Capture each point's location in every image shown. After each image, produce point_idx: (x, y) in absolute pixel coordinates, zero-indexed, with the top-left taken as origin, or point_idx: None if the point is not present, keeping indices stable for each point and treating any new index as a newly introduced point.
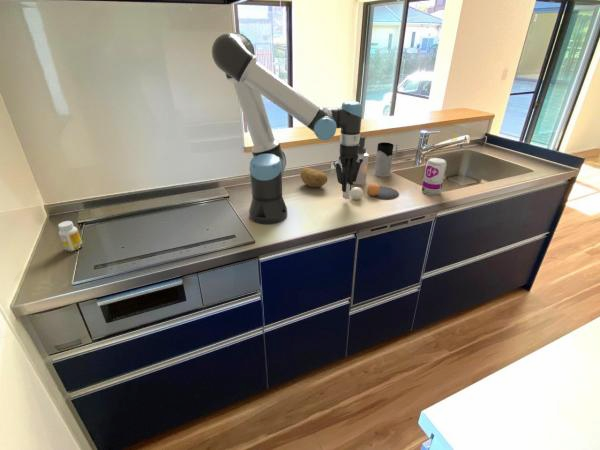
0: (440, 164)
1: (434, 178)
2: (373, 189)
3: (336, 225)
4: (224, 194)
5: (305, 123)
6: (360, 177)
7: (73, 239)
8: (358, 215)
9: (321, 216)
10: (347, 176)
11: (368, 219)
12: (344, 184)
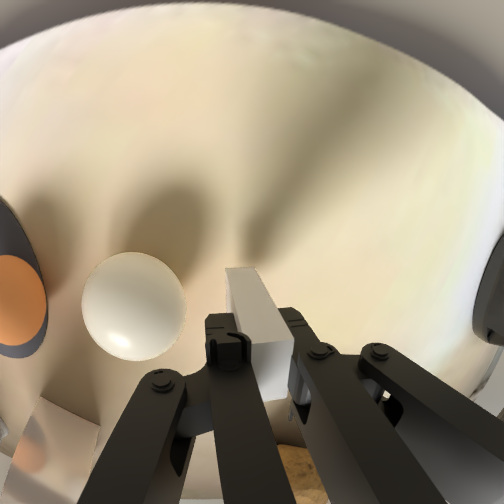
0: None
1: None
2: (6, 278)
3: (422, 74)
4: None
5: None
6: (53, 435)
7: None
8: (274, 67)
9: (438, 183)
10: (347, 440)
11: (249, 8)
12: (331, 350)
